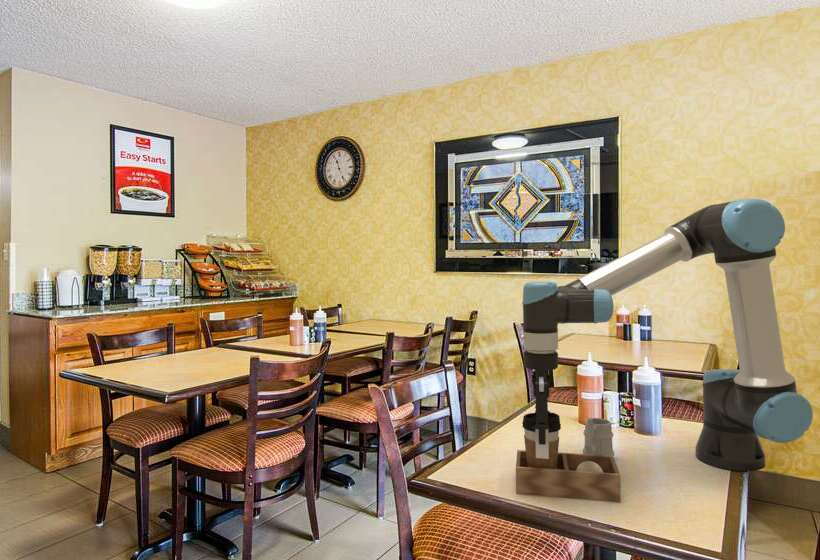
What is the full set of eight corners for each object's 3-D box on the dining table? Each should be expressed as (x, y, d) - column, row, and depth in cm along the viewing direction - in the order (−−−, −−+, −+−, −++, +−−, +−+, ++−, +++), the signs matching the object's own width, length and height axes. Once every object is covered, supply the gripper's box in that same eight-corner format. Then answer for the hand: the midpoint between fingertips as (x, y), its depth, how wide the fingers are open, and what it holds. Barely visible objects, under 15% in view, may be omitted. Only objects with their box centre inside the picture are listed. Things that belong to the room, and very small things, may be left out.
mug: (618, 457, 135) (618, 411, 135) (603, 472, 126) (602, 423, 126) (589, 451, 140) (588, 407, 140) (572, 465, 131) (572, 418, 130)
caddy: (612, 483, 120) (612, 455, 119) (620, 506, 109) (620, 475, 108) (517, 476, 124) (517, 449, 124) (516, 497, 114) (515, 467, 113)
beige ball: (602, 484, 118) (602, 457, 117) (606, 495, 112) (605, 468, 112) (574, 482, 119) (574, 456, 119) (576, 493, 113) (576, 466, 113)
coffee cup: (563, 490, 113) (562, 421, 112) (523, 487, 114) (522, 420, 114) (559, 474, 121) (559, 410, 121) (522, 472, 123) (521, 409, 122)
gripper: (524, 342, 128) (525, 434, 129) (522, 358, 107) (524, 467, 108) (555, 343, 126) (557, 436, 127) (560, 359, 106) (561, 469, 106)
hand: (541, 450), depth 117 cm, fingers closed on coffee cup, 8 cm apart
